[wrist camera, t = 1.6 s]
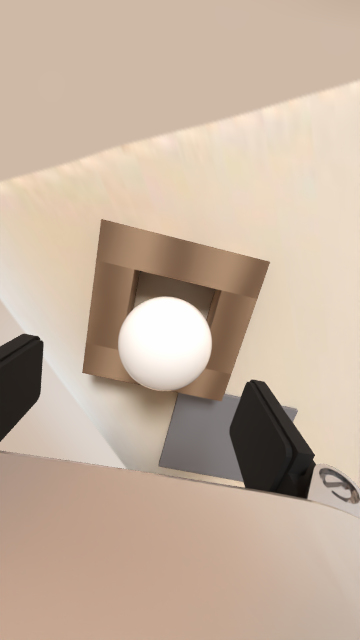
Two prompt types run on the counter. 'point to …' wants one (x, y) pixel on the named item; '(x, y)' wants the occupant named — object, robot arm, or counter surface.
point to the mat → (204, 436)
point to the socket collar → (181, 264)
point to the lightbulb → (165, 343)
